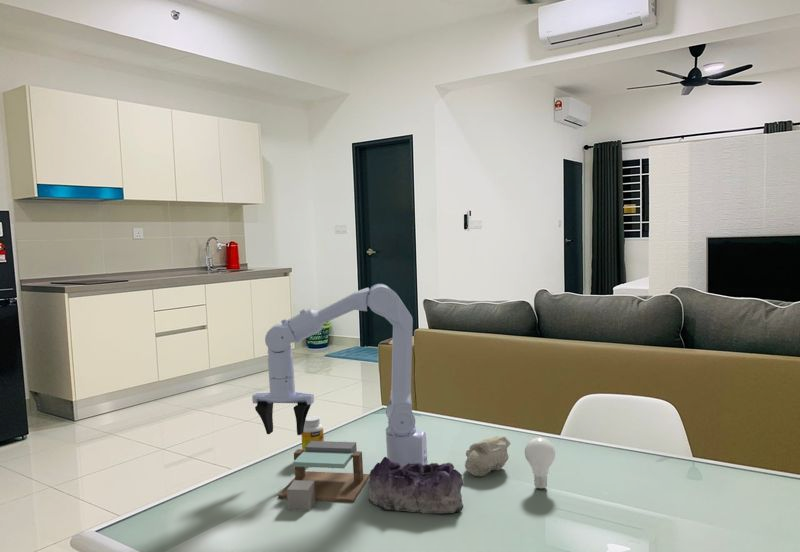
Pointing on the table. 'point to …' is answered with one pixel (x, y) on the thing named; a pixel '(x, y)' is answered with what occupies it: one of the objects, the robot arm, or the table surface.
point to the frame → (333, 481)
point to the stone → (301, 495)
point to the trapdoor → (326, 454)
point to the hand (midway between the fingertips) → (285, 433)
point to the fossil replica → (487, 455)
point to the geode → (416, 487)
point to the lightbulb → (540, 459)
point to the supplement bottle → (312, 431)
